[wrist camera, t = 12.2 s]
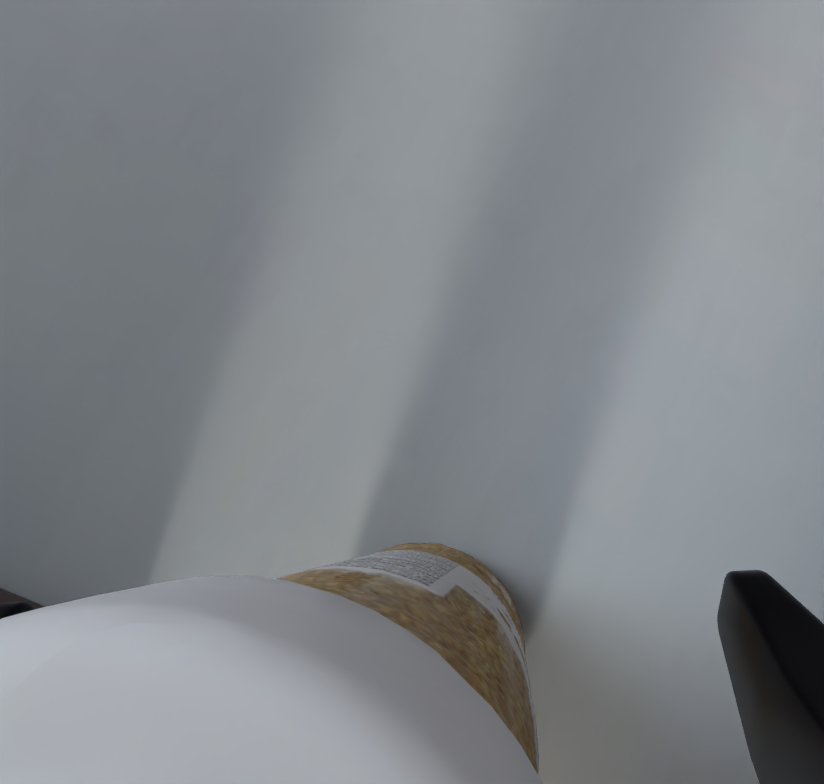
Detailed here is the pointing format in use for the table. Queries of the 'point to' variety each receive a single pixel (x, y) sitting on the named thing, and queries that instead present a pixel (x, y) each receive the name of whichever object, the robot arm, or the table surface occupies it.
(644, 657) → the table surface
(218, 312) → the table surface
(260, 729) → the sprinkles bottle
